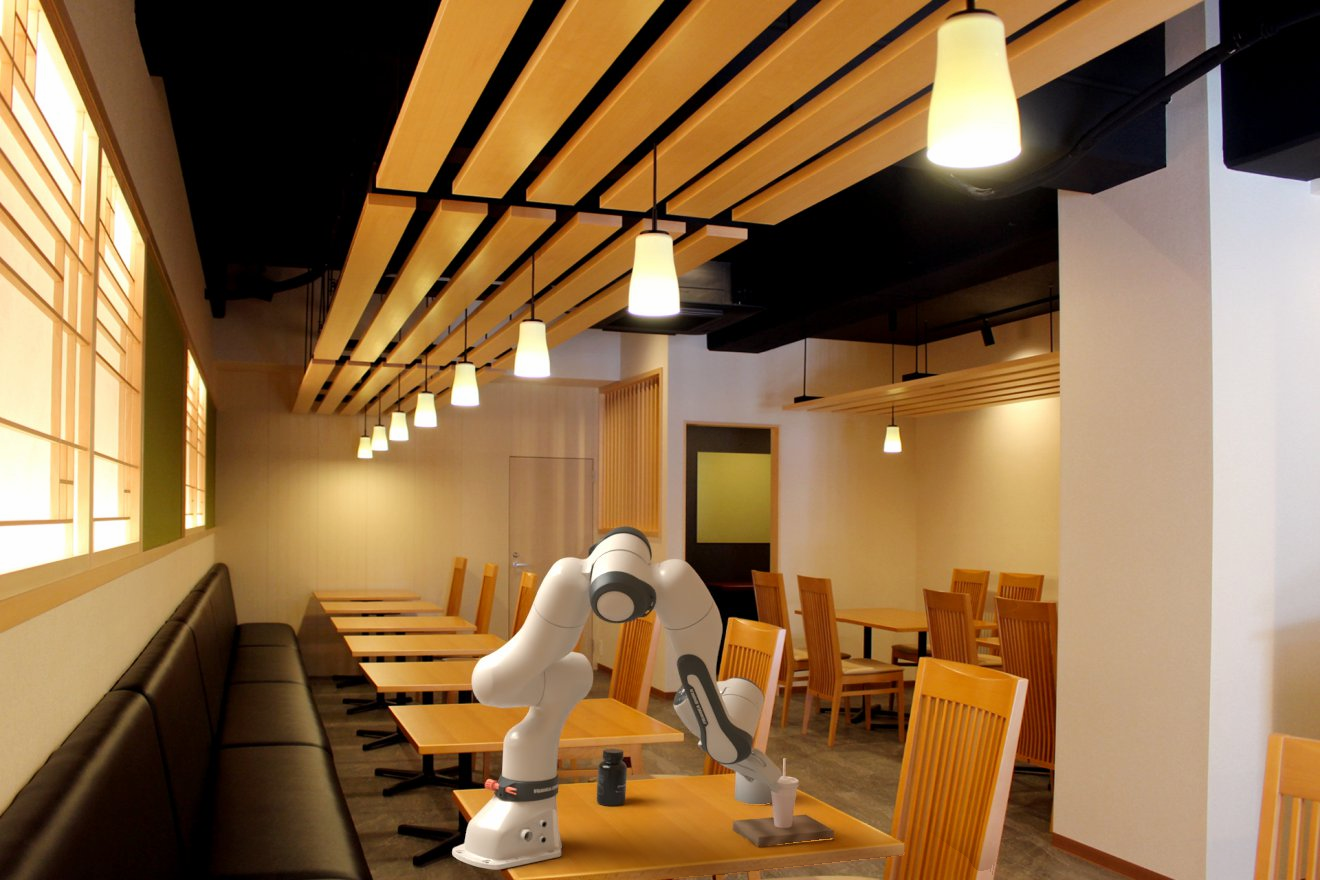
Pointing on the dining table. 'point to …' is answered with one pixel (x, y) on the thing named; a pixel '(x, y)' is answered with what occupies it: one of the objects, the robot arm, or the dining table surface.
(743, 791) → the toilet tissue
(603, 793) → the supplement bottle
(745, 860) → the dining table surface
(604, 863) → the dining table surface
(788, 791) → the smoothie
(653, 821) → the dining table surface
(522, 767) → the robot arm
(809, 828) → the walnut board
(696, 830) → the dining table surface
